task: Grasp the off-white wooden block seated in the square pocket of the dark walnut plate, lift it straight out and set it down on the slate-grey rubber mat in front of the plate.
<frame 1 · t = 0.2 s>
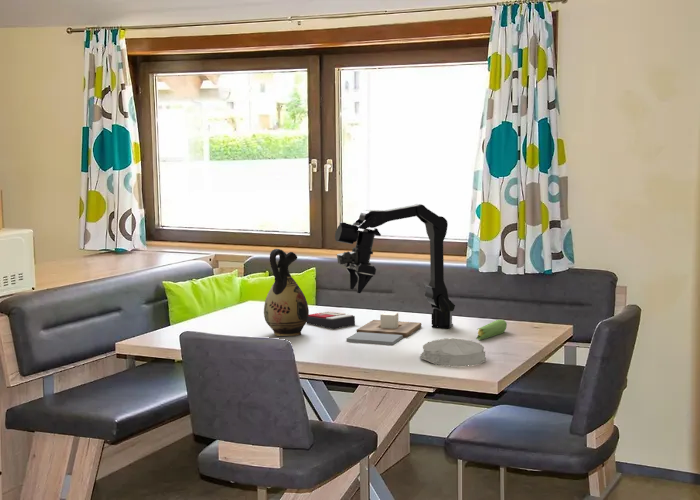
hand: (355, 291, 297), 15 cm above the table, tool pointing down, fingers open, 9 cm apart
pocket plate: (389, 330, 304), on the table
edible corn: (489, 337, 293), on the table
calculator: (330, 325, 316), on the table
ceramic jug: (285, 335, 298), on the table
grey stone disc: (453, 360, 262), on the table
white block: (389, 322, 303), in the pocket plate
grey mat: (374, 339, 289), on the table
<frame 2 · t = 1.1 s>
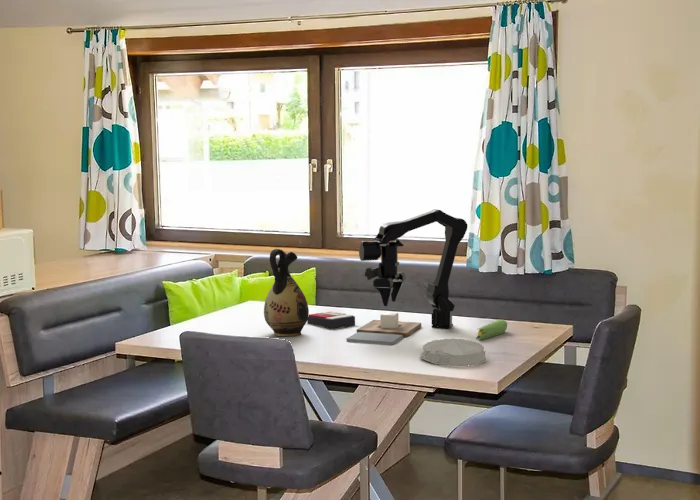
hand: (389, 303, 303), 9 cm above the table, tool pointing down, fingers open, 9 cm apart
nothing on the table moved.
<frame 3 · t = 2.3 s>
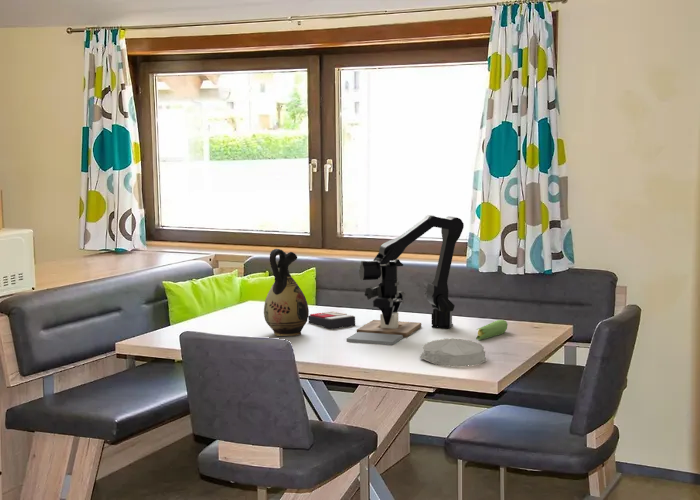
hand: (389, 323, 303), 3 cm above the table, tool pointing down, fingers closed on white block, 5 cm apart
white block: (389, 321, 303), in the pocket plate, touching gripper
everything else where it was.
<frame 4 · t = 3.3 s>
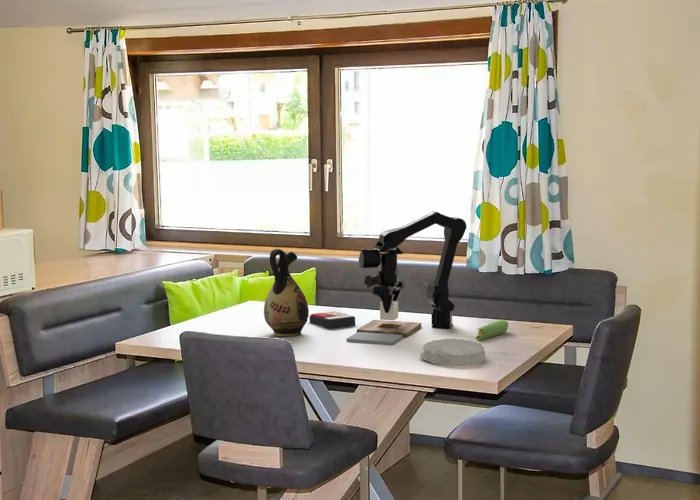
hand: (389, 311, 303), 7 cm above the table, tool pointing down, fingers closed on white block, 5 cm apart
white block: (389, 310, 303), point 7 cm above the table, touching gripper
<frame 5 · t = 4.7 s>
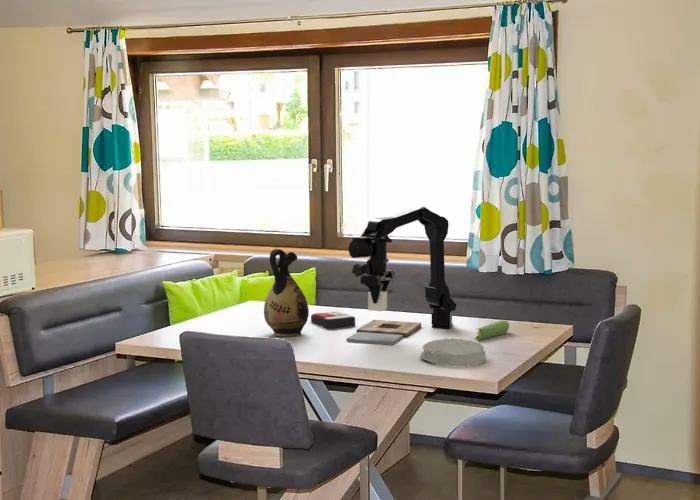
hand: (377, 302, 292), 12 cm above the table, tool pointing down, fingers closed on white block, 5 cm apart
white block: (377, 300, 292), point 12 cm above the table, touching gripper
when the fingers open (5 cm above the table, at t = 6.5 s): white block drops 1 cm, resting on grey mat.
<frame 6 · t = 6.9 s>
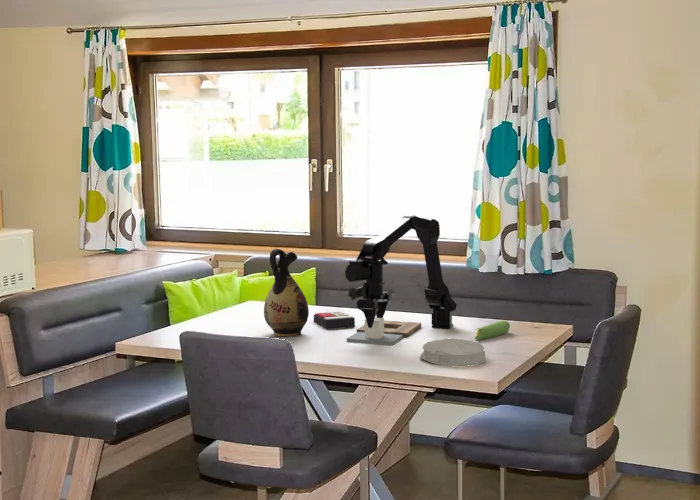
hand: (374, 325, 288), 5 cm above the table, tool pointing down, fingers open, 9 cm apart
white block: (374, 327, 289), on the grey mat, point 4 cm above the table
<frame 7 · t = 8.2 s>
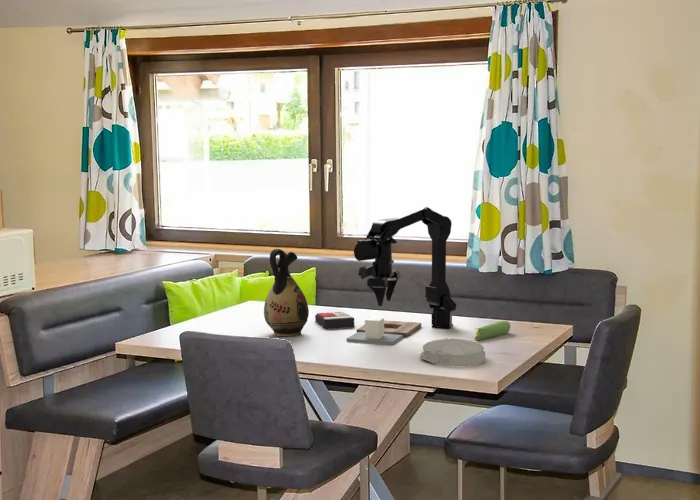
hand: (384, 303, 293), 11 cm above the table, tool pointing down, fingers open, 9 cm apart
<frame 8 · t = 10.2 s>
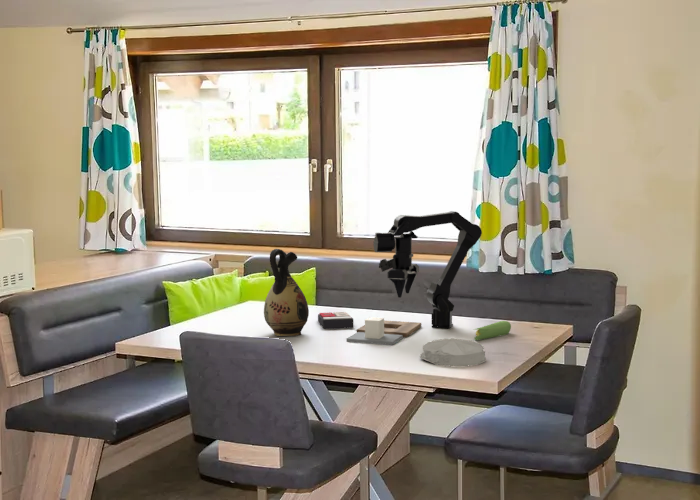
hand: (403, 295, 305), 12 cm above the table, tool pointing down, fingers open, 9 cm apart
at the end: white block inside the target area on the grey mat (0.1 cm from its centre), point 4.0 cm above the grey mat's base; white block tilted 0°; the gripper is holding nothing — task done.
